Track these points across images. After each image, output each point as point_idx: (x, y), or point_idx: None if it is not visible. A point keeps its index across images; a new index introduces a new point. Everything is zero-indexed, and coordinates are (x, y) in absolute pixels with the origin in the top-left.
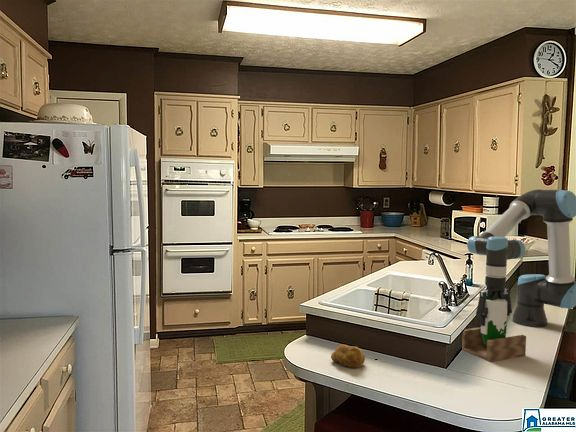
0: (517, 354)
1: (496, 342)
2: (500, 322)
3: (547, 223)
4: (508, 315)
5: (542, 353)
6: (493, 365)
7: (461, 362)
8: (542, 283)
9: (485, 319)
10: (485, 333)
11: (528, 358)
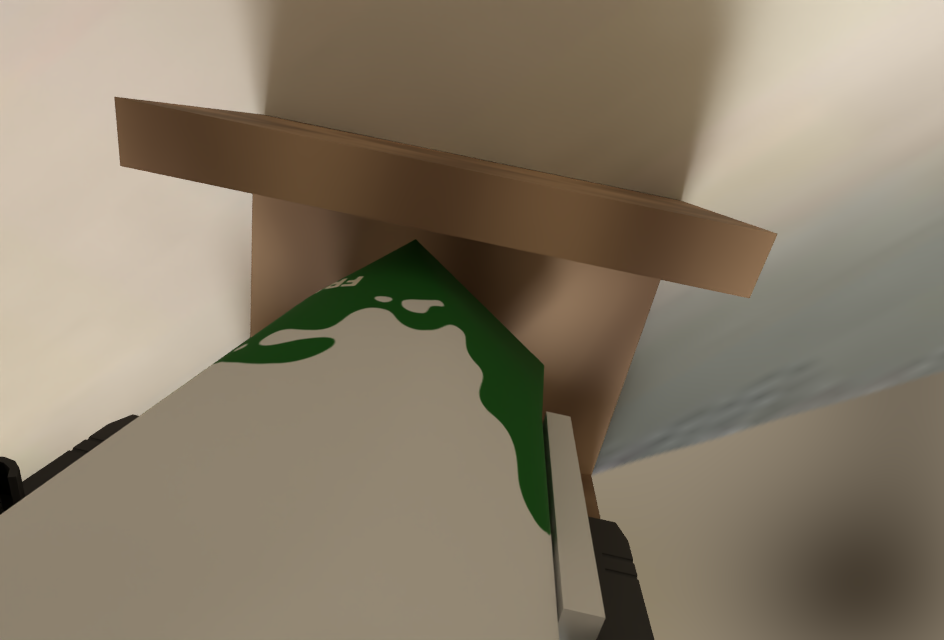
0: (350, 134)
1: (662, 208)
2: (410, 385)
3: None
4: (7, 463)
5: (72, 60)
6: (744, 126)
7: (886, 329)
8: None
9: (592, 604)
10: (571, 428)
11: (296, 52)
